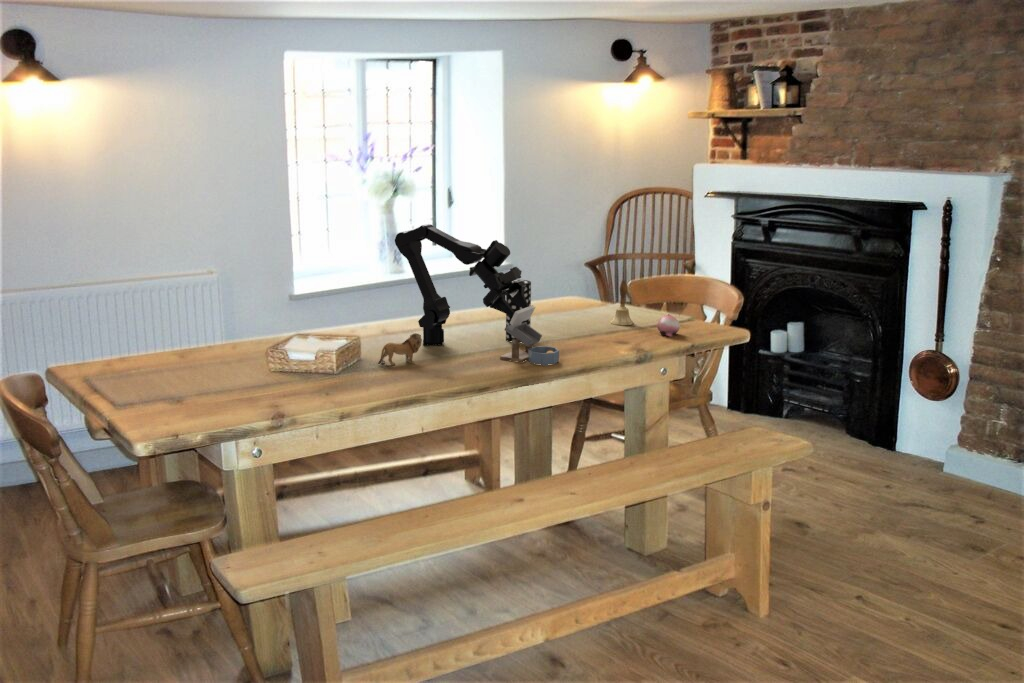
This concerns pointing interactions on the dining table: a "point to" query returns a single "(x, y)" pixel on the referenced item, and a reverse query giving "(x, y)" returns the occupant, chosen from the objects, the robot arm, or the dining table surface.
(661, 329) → the piggy bank
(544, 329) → the dining table surface
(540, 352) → the blue bowl
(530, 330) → the tipper
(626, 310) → the hand bell
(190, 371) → the dining table surface
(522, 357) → the stand
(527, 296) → the white-spotted black cylinder
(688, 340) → the dining table surface
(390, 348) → the lion figurine
